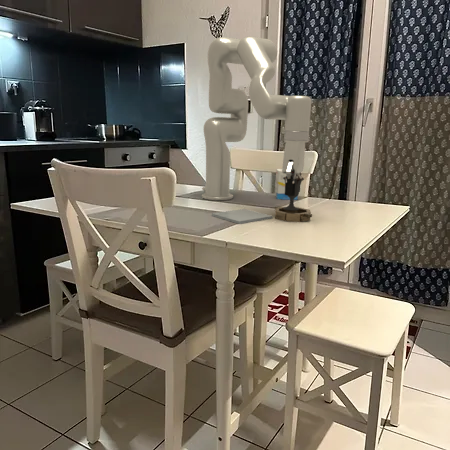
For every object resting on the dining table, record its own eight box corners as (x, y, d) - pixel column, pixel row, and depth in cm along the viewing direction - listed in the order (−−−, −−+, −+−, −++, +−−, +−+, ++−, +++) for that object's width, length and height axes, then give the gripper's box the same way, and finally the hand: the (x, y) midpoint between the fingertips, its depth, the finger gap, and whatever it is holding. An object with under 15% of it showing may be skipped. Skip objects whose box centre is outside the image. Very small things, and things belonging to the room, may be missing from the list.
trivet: (211, 215, 142) (211, 213, 142) (244, 211, 150) (244, 208, 150) (239, 224, 131) (239, 221, 131) (272, 218, 140) (272, 216, 139)
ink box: (297, 200, 174) (299, 170, 171) (276, 199, 174) (278, 170, 171) (294, 196, 182) (296, 168, 179) (274, 196, 182) (276, 168, 179)
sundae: (286, 211, 137) (289, 164, 133) (277, 207, 143) (280, 161, 139) (305, 210, 139) (308, 163, 135) (295, 206, 145) (298, 161, 141)
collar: (264, 215, 143) (264, 208, 143) (287, 212, 150) (288, 204, 149) (297, 224, 132) (297, 216, 131) (321, 220, 139) (322, 212, 138)
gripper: (291, 135, 144) (287, 188, 149) (277, 137, 129) (273, 196, 133) (313, 136, 142) (309, 190, 146) (302, 138, 126) (297, 199, 130)
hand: (292, 193), depth 139 cm, fingers closed on sundae, 6 cm apart
